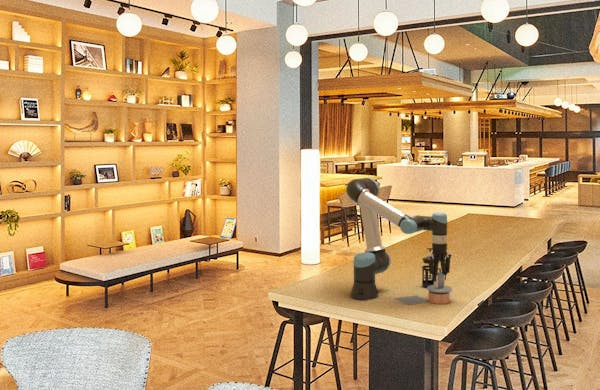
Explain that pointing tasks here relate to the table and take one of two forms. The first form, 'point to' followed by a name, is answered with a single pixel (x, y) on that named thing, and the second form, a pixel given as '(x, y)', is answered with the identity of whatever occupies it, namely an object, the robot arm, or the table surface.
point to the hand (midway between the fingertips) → (439, 286)
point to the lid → (439, 285)
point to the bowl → (439, 297)
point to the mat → (412, 300)
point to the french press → (427, 282)
